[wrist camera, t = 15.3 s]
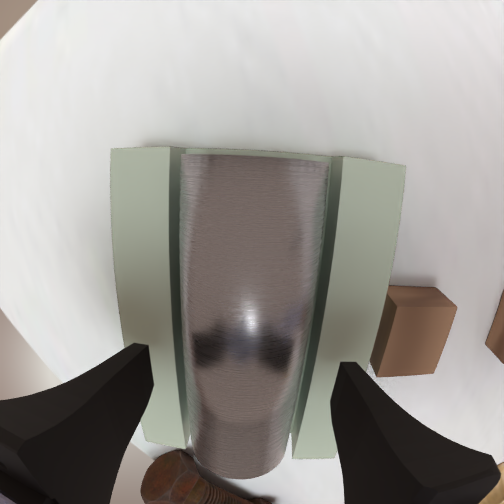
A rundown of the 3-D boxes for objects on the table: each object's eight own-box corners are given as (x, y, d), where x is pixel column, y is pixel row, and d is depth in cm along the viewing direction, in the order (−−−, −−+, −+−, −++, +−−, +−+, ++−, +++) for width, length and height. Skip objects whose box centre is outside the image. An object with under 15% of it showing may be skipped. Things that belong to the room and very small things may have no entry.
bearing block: (533, 289, 15) (554, 304, 12) (515, 340, 16) (533, 357, 13) (380, 285, 15) (397, 306, 13) (364, 350, 16) (376, 377, 14)
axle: (196, 154, 13) (162, 153, 8) (314, 161, 13) (347, 164, 8) (198, 408, 17) (185, 474, 12) (283, 413, 17) (288, 480, 12)
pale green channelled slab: (378, 163, 13) (406, 165, 10) (328, 422, 18) (334, 458, 15) (142, 149, 14) (110, 148, 11) (159, 407, 18) (145, 441, 15)
